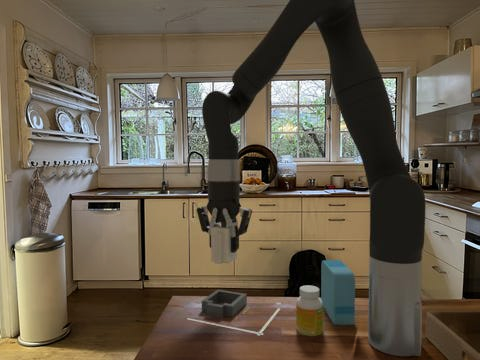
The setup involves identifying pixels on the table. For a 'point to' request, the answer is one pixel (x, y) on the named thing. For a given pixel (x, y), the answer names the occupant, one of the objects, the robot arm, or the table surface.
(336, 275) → the data package
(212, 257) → the plug
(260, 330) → the header board
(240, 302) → the frame
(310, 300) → the supplement bottle
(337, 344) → the table surface
